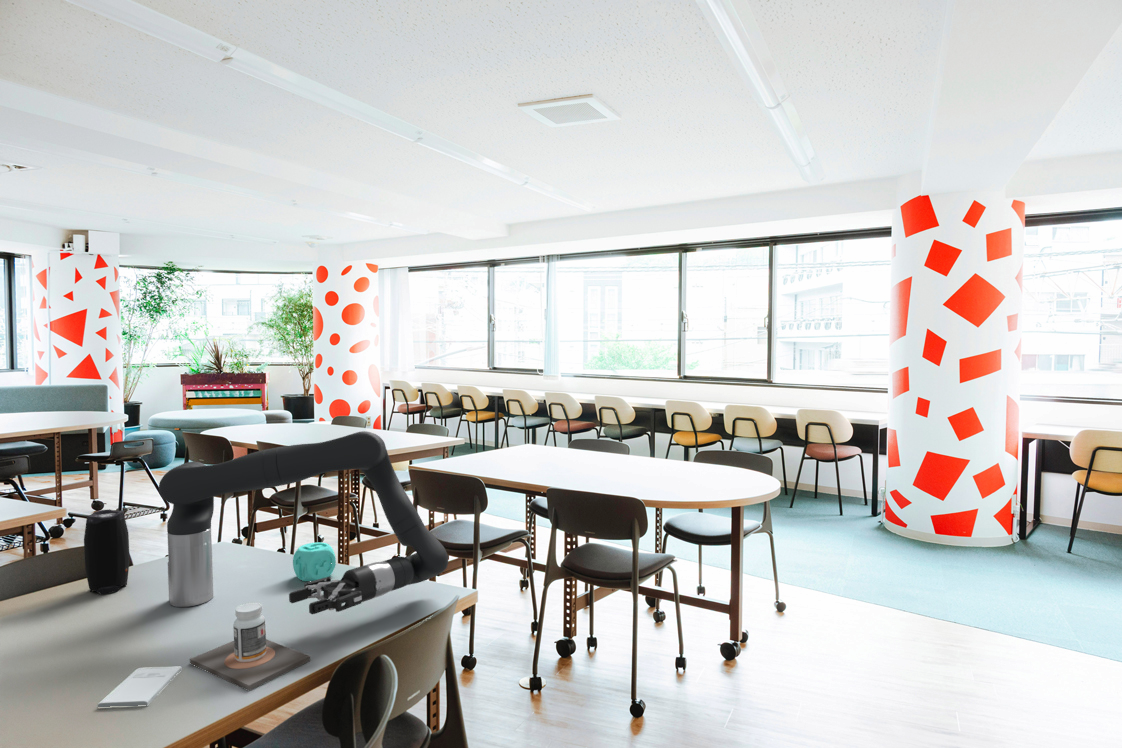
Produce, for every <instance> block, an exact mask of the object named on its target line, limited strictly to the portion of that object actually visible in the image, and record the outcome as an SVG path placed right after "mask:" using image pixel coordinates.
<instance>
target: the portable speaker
mask: <svg viewBox="0 0 1122 748" xmlns="http://www.w3.org/2000/svg"><path fill="white" fill-rule="evenodd" d="M129 537H130V535H129V529H128V524H127V520H126V517H125V510H114V509H101V510H96V511H94V512H92V513H91V514H90V515H88V516H86V522H85V529H84V536H83V549H84V550H83V551H84V553H83V554H84V569H85V573H86V580H87V584H88V585H87V586H88V589H89V591H90V592H97V593H98V594H100V595H101V596H102V595H108V594H111V593H112V594H113V593H117V592H119V589H120V588H121V587H126V586H128V580H129V568H130V559H131V556H130V540H129Z"/></svg>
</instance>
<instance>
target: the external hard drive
mask: <svg viewBox="0 0 1122 748" xmlns="http://www.w3.org/2000/svg"><path fill="white" fill-rule="evenodd" d="M181 670H182V671H183V669H182V666H180V665H178V666H177V665H176V666H152V667H150V666H148V667H146V666H145V667H138V668H136V669H135V670H134V671H133V672H131V673H130V674H129V675H128V676H127V677H125V679H123V681H121V683H119V684H118V685H116V687H115V688H114V689H113V690H112V691H111V692H110V693H108V694H107V695H106V696H105V697H104V698H103V699H102V700H101V701H100V702H98V703H97V708H98V707H110V706H138V705H146V706H147V705H148V704H149V703H150V702H151V701H152V700H153V699H154V698H155V697H156V696H157V694H159V692H160V691H161V690H162V689H163V688H164V687H165V686H166V685H167V684H168V683H169V682H170V680H172V679H173V678H174V676H176V674H177V673H179V672H180V671H181ZM182 671H181V672H182ZM181 672H180V673H181ZM180 673H179V674H180ZM176 677H177V676H176ZM174 679H175V678H174ZM174 679H173V680H174ZM173 680H172V681H173ZM159 695H160V694H159ZM157 697H158V696H157ZM157 697H156V698H157ZM156 698H155V699H156ZM155 699H154V700H155ZM154 700H153V701H154ZM153 701H152V702H153ZM152 702H151V703H152ZM147 707H148V706H147Z"/></svg>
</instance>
